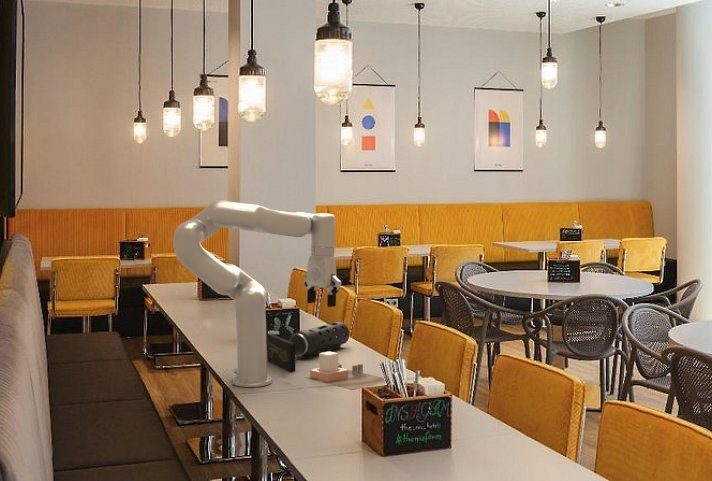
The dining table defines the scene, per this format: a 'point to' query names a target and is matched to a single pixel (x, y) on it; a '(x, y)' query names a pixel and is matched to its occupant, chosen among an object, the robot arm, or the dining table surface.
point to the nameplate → (281, 352)
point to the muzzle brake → (320, 339)
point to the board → (354, 379)
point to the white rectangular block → (328, 362)
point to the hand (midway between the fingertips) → (321, 304)
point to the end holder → (329, 374)
